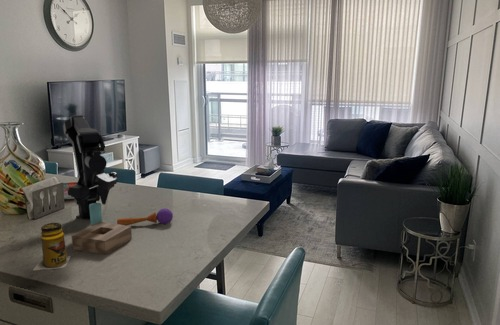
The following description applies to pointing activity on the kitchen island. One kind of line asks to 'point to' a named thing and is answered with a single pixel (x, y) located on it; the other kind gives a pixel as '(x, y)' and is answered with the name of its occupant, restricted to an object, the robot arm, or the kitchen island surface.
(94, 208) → the pin
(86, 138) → the robot arm
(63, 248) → the condiment
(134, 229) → the kitchen island surface
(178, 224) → the kitchen island surface
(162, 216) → the wooden maraca
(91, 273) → the kitchen island surface
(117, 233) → the hole block
